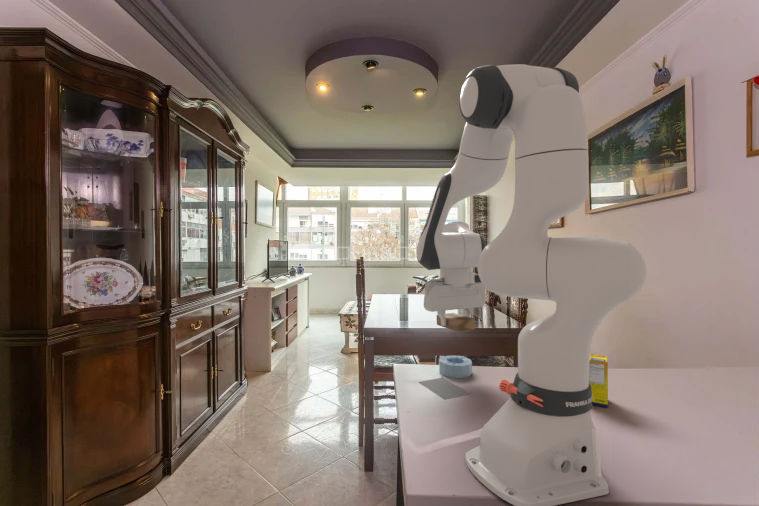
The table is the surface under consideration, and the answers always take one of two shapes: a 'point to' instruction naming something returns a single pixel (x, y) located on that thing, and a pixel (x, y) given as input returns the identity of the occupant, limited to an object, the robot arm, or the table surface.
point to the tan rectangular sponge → (458, 322)
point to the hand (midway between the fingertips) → (455, 324)
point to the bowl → (455, 366)
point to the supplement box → (599, 379)
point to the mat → (444, 388)
